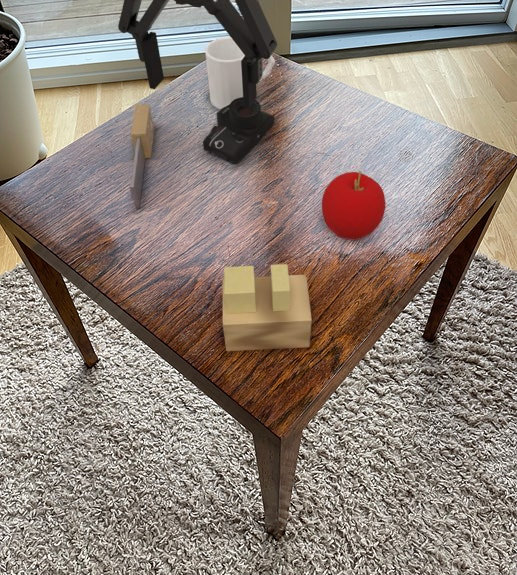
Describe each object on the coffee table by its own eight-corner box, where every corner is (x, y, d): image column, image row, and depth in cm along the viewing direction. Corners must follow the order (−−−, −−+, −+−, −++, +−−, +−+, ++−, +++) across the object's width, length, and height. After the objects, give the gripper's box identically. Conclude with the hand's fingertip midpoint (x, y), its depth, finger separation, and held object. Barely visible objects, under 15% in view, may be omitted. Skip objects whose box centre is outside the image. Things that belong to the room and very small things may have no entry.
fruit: (393, 234, 83) (405, 182, 76) (342, 258, 81) (349, 207, 73) (356, 197, 89) (364, 144, 81) (307, 218, 86) (310, 166, 78)
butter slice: (272, 311, 68) (272, 291, 65) (270, 285, 71) (270, 264, 68) (289, 310, 68) (290, 290, 65) (287, 284, 71) (287, 263, 68)
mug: (278, 107, 103) (278, 56, 96) (211, 113, 103) (206, 63, 95) (272, 82, 108) (272, 32, 101) (209, 88, 108) (203, 38, 100)
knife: (140, 129, 101) (135, 104, 97) (154, 128, 101) (149, 104, 97) (129, 209, 88) (123, 184, 84) (145, 208, 88) (139, 184, 84)
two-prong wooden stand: (226, 351, 72) (222, 324, 67) (225, 306, 76) (222, 278, 72) (309, 347, 72) (311, 320, 67) (304, 302, 76) (306, 274, 72)
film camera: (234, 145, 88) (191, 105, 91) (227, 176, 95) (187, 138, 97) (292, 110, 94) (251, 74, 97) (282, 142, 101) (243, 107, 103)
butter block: (226, 314, 68) (224, 293, 65) (226, 287, 71) (224, 266, 68) (256, 312, 68) (255, 292, 65) (254, 286, 71) (253, 265, 68)
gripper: (307, -90, 58) (301, 94, 75) (95, -114, 64) (133, 61, 81) (282, -60, 54) (281, 128, 70) (58, -89, 60) (106, 90, 77)
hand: (202, 93), depth 76 cm, fingers open, 13 cm apart
